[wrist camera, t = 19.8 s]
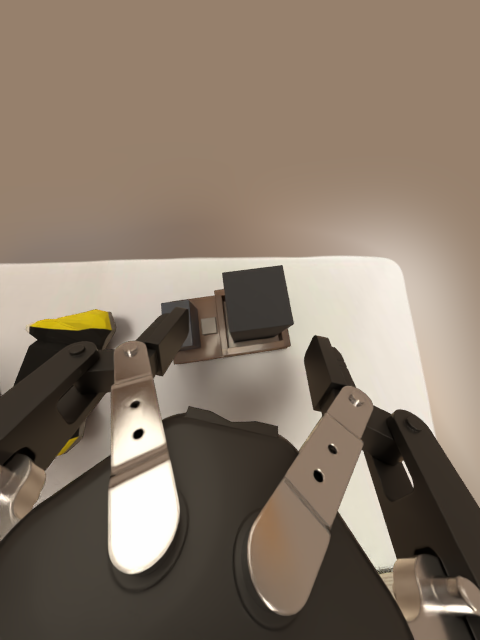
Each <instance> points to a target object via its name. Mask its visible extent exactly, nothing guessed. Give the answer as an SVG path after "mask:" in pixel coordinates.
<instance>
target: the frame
mask: <svg viewBox="0 0 480 640" xmlns="http://www.w3.org/2000/svg"><path fill="white" fill-rule="evenodd" d="M214 293H215V296H208V297H201V298H194V299H186V300H179V301H172V302H167V303H161V309H162V315H163V314H165V313H171V312H172V310H173V309H174V308H175V307H180V308H185V309H188V310H189V333H188V336H187V338H186V340H185V341H184V343H183V345H182V346H181V348H180V349H179V351H178V353H177V354H176V356H175V358H174V364H182V363H189V362H196V361H203V360H210V359H217V358H224V357H230V356H237V355H244V354H251V353H258V352H265V351H272V350H279V349H285V348H287V347H290V346H291V344H290V338H289V333H288V328H287V329H286V330H284V331H283V332H281V333H280V334H278V335H277V336H275V337H273V338H265V339H258V340H250V341H243V342H235V343H234V341H233V339H232V337H231V335H230V332H229V325H228V317H227V308H226V300H225V292H224V289H222V290H215V291H214Z"/></svg>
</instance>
